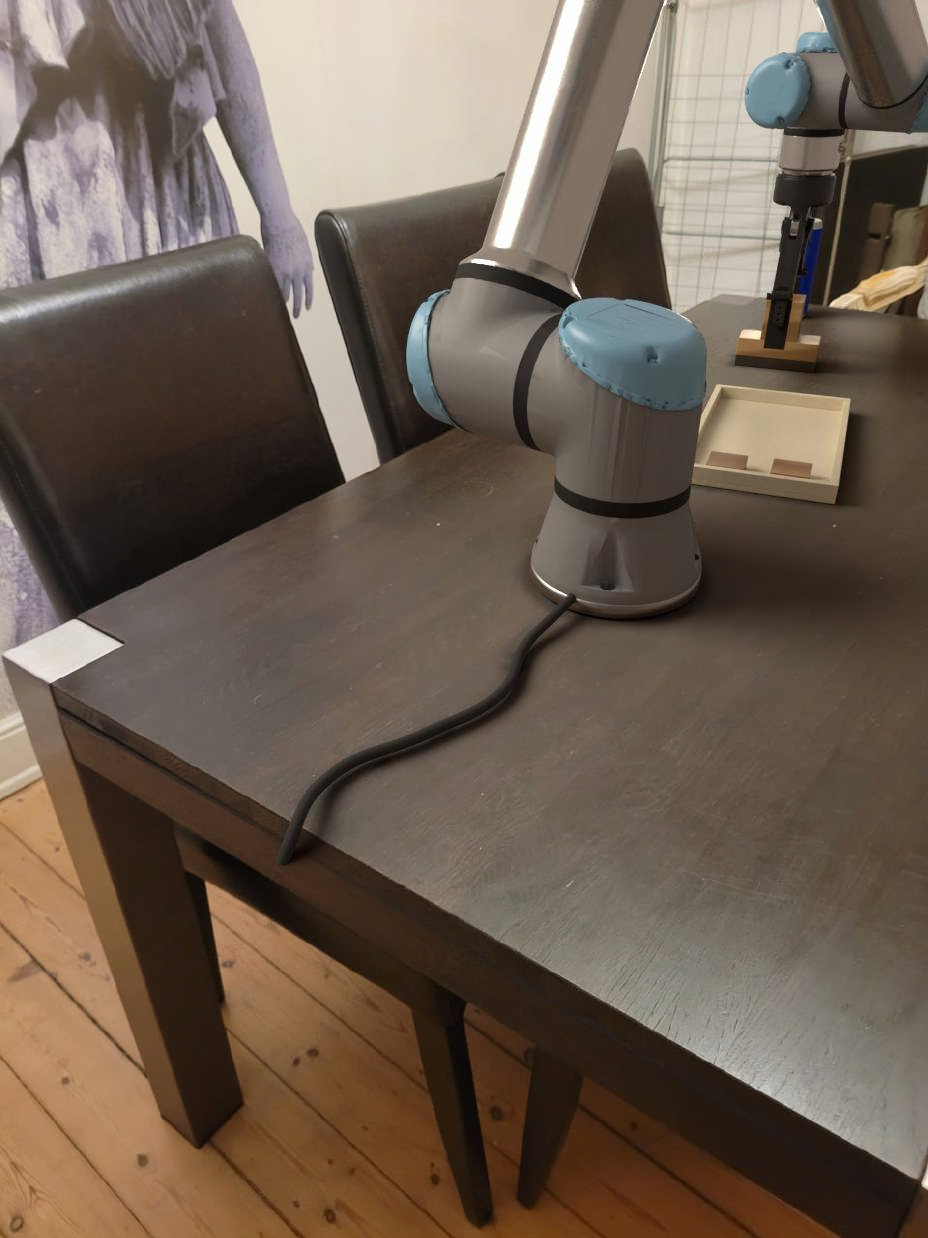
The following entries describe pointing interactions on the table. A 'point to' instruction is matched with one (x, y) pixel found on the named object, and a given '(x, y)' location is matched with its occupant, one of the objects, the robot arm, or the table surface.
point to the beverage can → (810, 262)
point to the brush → (797, 346)
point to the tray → (773, 441)
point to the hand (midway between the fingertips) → (779, 335)
